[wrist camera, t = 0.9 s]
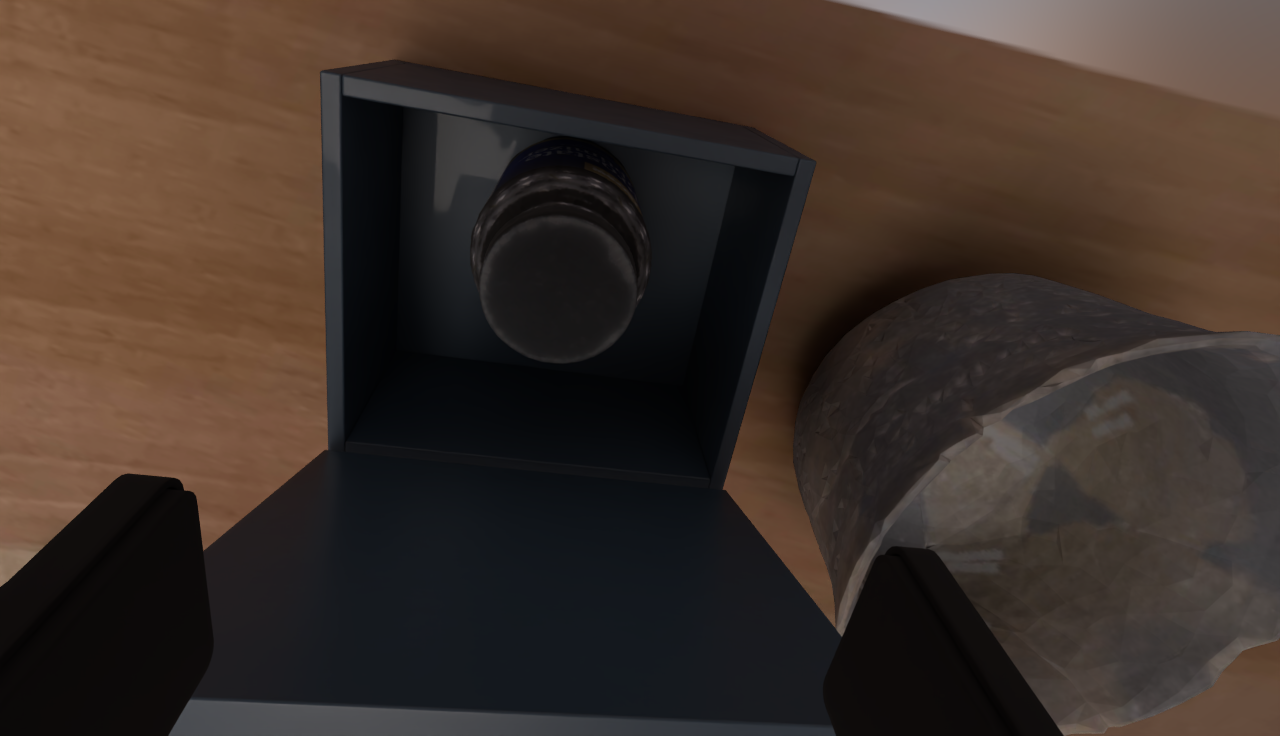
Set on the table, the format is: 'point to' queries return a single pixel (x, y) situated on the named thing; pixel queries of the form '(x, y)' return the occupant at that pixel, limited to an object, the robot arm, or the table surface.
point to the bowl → (1059, 482)
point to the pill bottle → (561, 251)
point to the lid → (503, 610)
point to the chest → (449, 300)
